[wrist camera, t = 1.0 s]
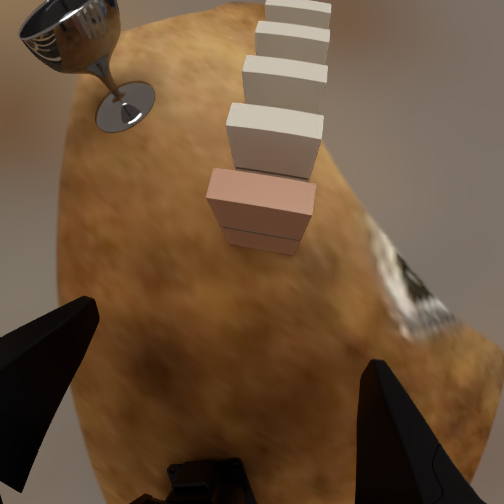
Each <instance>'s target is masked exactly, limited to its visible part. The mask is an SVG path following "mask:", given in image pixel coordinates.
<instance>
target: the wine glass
mask: <svg viewBox="0 0 504 504" xmlns="http://www.w3.org/2000/svg"><path fill="white" fill-rule="evenodd" d="M120 33H121V21H120V13H119V8H118V3H117V0H46V1H45V2H43V3H42V4H41V5H40V6H39V7H37V8H36V9H35V10H34V11H33V13H31V15H30V16H29V17H28V18H27V19H26V20H25V22H24V23H23V24H22V26H21V28H20V30H19V33H18V35H19V37H20V39H21V40H22V41H23V43H24V44H25V46H26V47H27V48H28V49H29V50H30V51H31V52H32V53H33V55H34V56H35V57H37V58H38V59H39V60H40V61H41V62H43V63H44V64H45V65H47V66H49V67H50V68H52V69H53V70H55V71H57V72H60V73H64V74H91V75H94V76H96V77H98V78H99V79H100V80H101V81H102V82H103V83H104V84H105V85H106V86H107V88H108V89H109V90H110V92H109V93H108V94H107V95H106V96H105V97H104V98H103V99H102V101H101V102H100V104H99V106H98V108H97V110H96V114H95V120H96V124H97V126H98V127H99V128H100V129H101V130H102V131H105V132H109V133H115V132H120V131H124V130H126V129H128V128H131V127H132V126H134V125H136V124H137V123H138V122H140V121H141V120H142V119H143V118H144V117H145V116H146V115H147V114H148V112H149V111H150V110H151V108H152V106H153V104H154V100H155V92H154V89H153V87H152V86H151V85H150V84H148V83H146V82H143V81H131V82H127V83H124V84H122V85H120V86H118V87H117V86H116V84H115V82H114V80H113V78H112V75H111V72H110V68H109V65H110V59H111V56H112V54H113V51H114V49H115V47H116V45H117V42H118V40H119V37H120Z"/></svg>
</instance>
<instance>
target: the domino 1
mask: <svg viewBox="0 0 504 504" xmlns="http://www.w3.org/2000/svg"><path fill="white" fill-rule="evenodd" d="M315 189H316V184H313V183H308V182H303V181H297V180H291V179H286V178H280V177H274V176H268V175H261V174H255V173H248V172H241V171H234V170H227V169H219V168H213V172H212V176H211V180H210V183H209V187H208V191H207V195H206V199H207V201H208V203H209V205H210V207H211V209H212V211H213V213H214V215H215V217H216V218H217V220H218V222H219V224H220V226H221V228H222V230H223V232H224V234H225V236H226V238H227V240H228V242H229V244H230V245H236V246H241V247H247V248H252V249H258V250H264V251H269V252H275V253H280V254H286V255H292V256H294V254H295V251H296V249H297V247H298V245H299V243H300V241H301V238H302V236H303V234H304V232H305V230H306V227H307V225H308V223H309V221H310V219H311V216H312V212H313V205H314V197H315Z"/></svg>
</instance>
